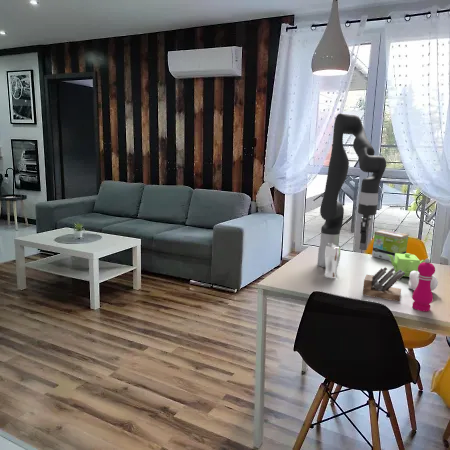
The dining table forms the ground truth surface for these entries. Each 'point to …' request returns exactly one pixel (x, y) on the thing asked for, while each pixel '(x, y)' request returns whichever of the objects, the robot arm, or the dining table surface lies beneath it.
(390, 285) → the knife block
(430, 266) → the pepper mill
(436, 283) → the white knot
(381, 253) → the tea box
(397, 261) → the kettle
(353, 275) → the dining table surface
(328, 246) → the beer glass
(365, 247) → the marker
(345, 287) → the dining table surface
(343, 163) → the robot arm
